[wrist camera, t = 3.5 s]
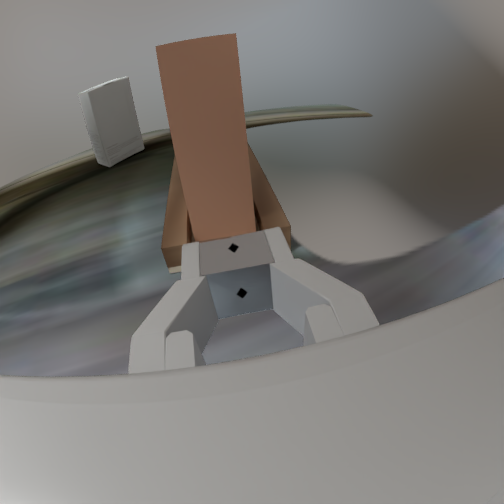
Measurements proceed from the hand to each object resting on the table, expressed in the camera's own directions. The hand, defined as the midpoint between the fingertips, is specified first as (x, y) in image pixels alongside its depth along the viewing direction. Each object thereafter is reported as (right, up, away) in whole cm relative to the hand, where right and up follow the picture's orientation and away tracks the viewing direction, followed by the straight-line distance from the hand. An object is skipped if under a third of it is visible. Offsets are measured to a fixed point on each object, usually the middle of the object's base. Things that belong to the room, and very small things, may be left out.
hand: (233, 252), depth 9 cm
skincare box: (-24, +17, +40) cm, 50 cm away
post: (-2, +2, +18) cm, 18 cm away
